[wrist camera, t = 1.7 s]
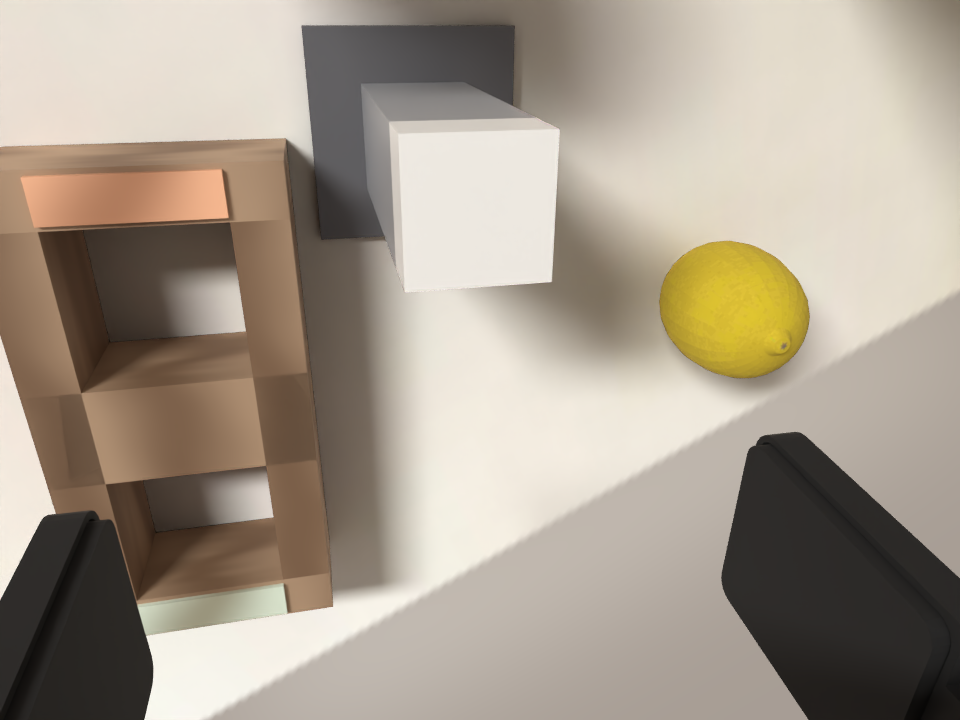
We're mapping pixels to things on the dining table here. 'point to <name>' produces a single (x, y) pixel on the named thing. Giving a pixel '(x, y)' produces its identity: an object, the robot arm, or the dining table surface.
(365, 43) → the mat
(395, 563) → the dining table surface
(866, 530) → the robot arm
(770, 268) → the lemon
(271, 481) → the socket block
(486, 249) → the plug
